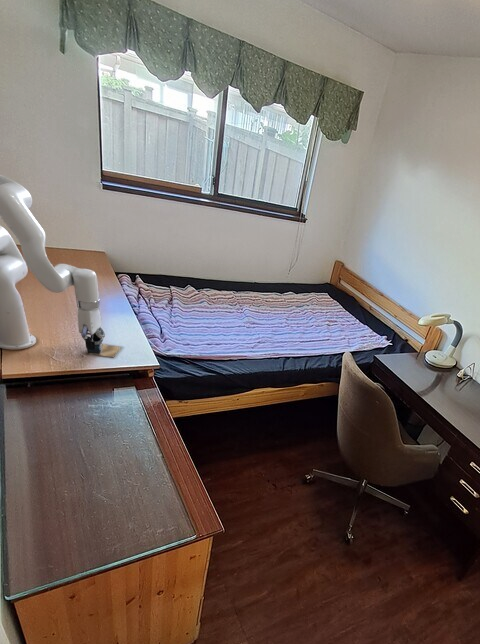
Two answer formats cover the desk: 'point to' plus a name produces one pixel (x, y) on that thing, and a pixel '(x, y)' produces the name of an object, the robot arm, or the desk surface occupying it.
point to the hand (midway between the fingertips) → (93, 345)
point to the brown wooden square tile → (108, 351)
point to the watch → (98, 344)
